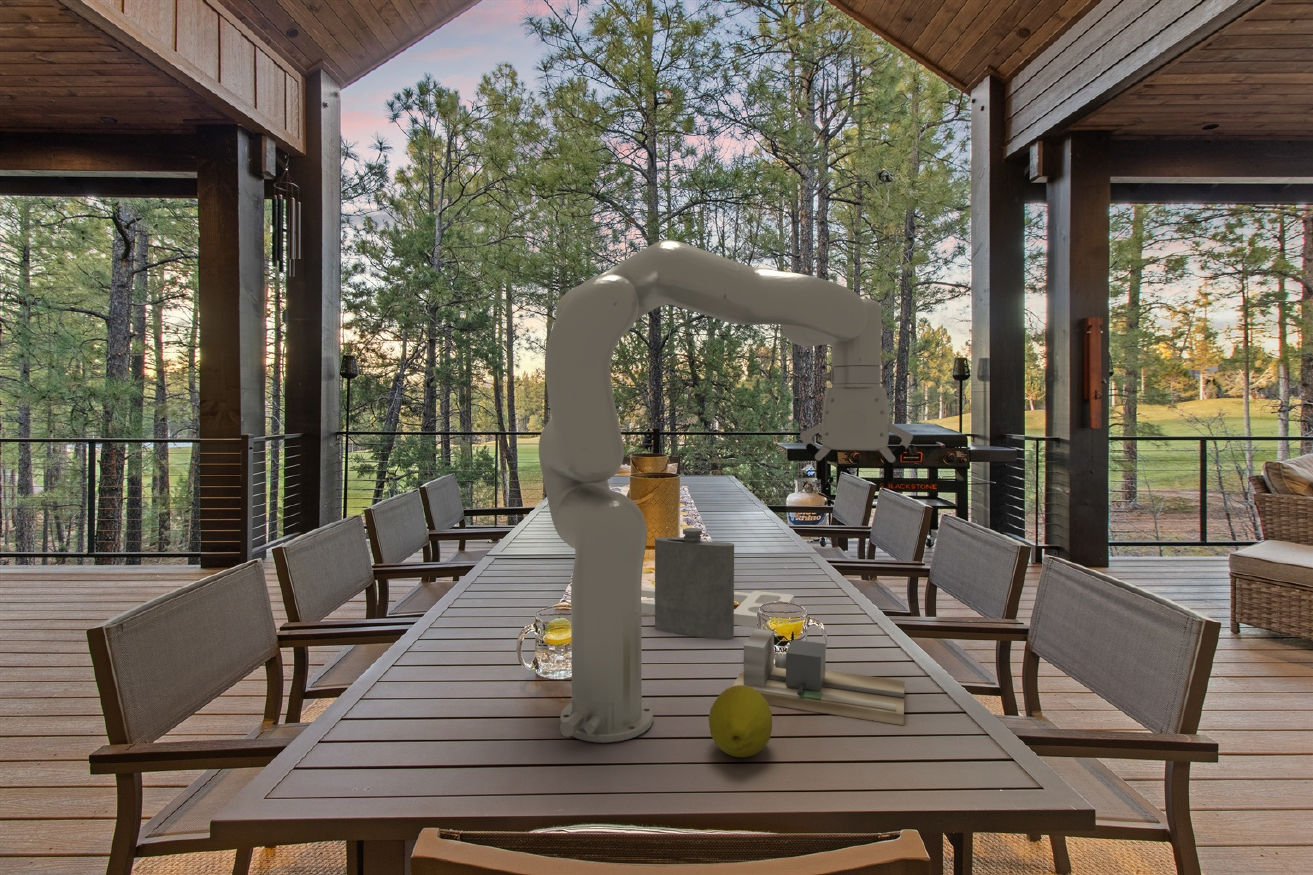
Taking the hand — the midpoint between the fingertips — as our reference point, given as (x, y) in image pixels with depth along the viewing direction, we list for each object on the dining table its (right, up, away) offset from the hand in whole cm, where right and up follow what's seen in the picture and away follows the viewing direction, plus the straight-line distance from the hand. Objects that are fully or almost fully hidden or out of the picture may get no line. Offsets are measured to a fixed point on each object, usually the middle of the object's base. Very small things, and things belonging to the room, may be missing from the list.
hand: (854, 485), depth 109 cm
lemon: (-22, -32, -25) cm, 46 cm away
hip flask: (-25, -30, +20) cm, 44 cm away
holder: (-26, -29, +39) cm, 55 cm away
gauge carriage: (-11, -29, -8) cm, 32 cm away
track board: (-8, -31, -7) cm, 32 cm away
